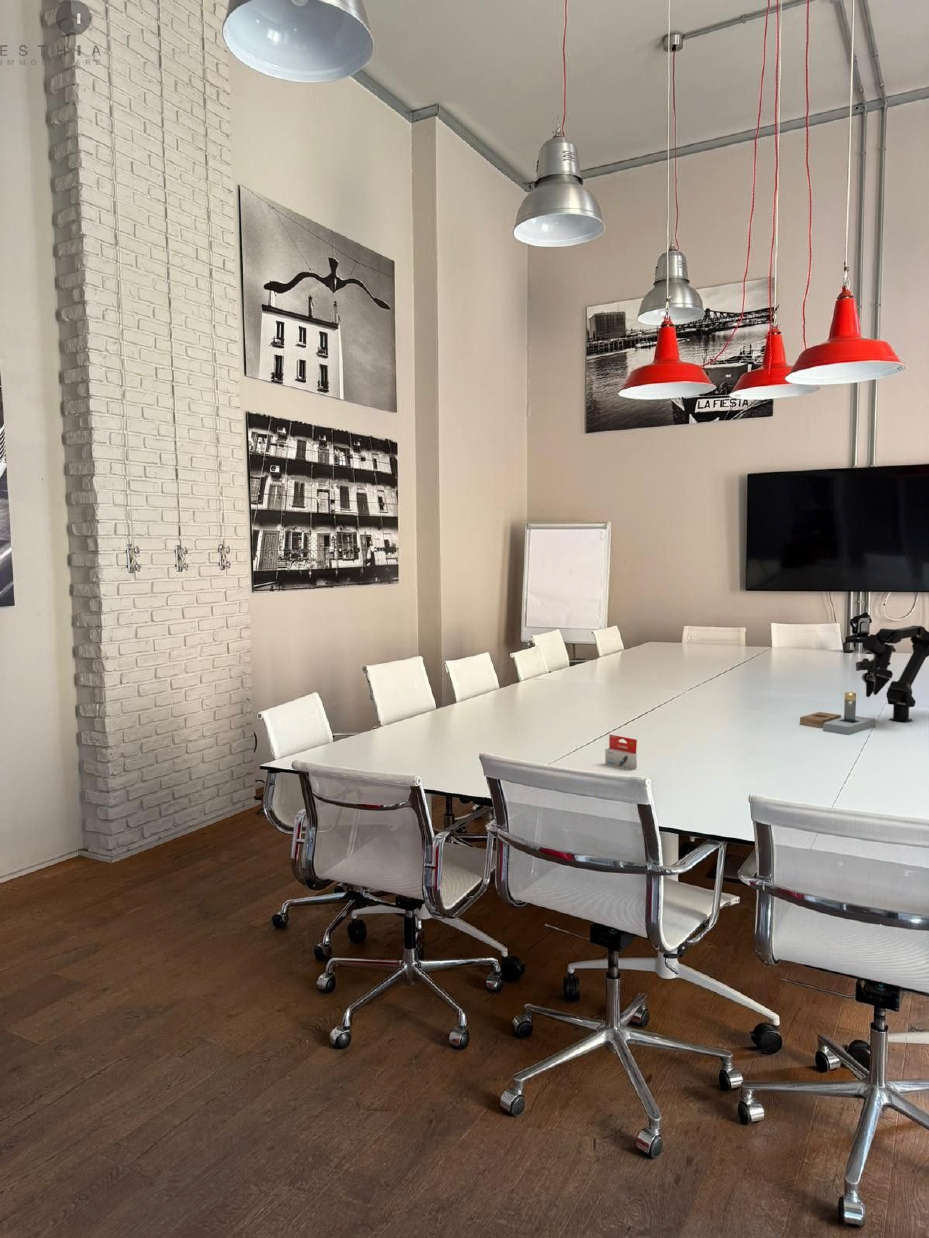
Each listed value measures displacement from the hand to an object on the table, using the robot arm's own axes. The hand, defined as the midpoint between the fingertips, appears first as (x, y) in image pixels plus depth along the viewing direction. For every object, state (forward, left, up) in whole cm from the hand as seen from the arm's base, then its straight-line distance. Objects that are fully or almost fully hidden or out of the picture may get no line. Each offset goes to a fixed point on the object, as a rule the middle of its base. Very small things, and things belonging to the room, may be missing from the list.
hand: (871, 695), depth 324 cm
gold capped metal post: (+10, -3, -12) cm, 16 cm away
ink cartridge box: (+119, -27, -12) cm, 123 cm away
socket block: (+9, -15, -12) cm, 22 cm away
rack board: (+10, -3, -12) cm, 16 cm away
